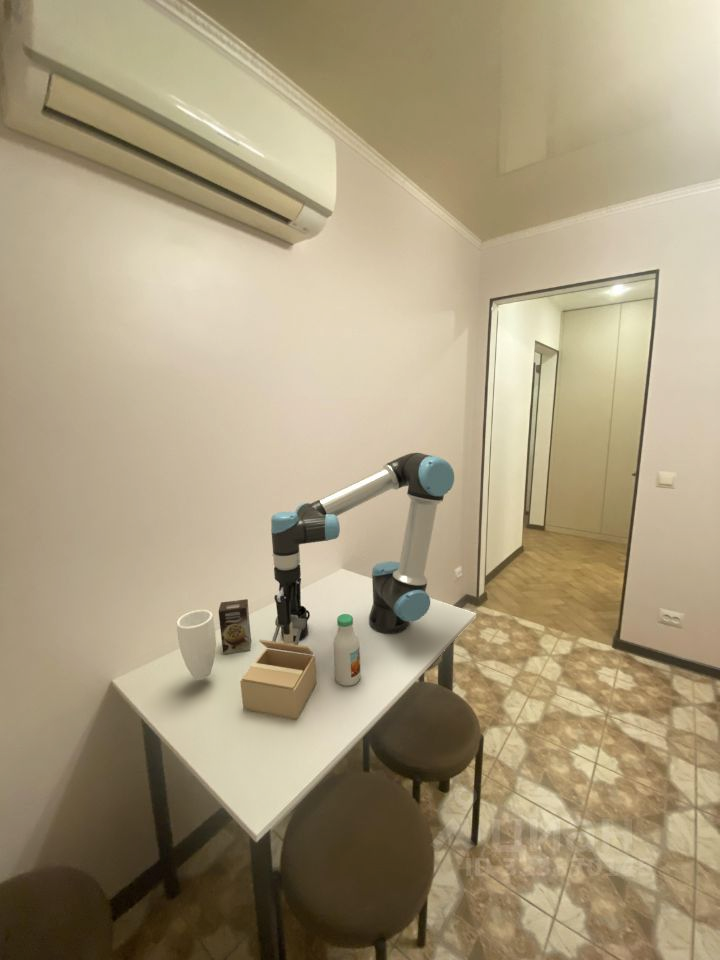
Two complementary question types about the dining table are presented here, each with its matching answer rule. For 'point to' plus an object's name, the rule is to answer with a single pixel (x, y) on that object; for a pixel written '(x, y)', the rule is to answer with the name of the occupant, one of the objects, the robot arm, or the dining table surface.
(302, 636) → the mug
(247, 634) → the coffee box
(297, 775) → the dining table surface
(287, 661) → the carton
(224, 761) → the dining table surface
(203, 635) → the cup
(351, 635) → the milk bottle
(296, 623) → the flap near
